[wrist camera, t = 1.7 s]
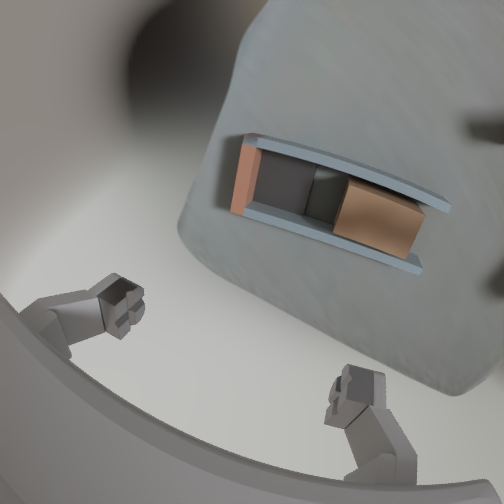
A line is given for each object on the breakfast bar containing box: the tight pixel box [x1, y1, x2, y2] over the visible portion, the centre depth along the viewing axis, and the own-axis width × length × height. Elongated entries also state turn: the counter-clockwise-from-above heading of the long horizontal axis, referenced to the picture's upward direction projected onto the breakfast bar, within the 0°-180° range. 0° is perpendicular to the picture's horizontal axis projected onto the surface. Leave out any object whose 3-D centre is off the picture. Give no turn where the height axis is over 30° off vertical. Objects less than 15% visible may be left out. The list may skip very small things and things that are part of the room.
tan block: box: [333, 176, 425, 259], centre depth 26 cm, size 5×8×4 cm, turn 78°
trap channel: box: [230, 133, 452, 276], centre depth 27 cm, size 9×22×3 cm, turn 79°
